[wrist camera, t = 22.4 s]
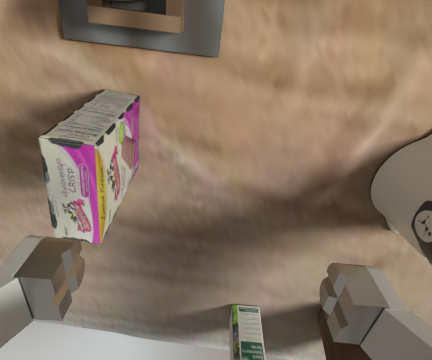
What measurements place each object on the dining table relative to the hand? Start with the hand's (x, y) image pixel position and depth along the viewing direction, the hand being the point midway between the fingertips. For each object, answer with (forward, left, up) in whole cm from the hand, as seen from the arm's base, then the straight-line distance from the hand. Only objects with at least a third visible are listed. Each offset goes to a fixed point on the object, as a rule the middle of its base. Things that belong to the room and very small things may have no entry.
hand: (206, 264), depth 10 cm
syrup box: (-11, +47, -31) cm, 58 cm away
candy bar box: (+12, +9, -31) cm, 35 cm away
